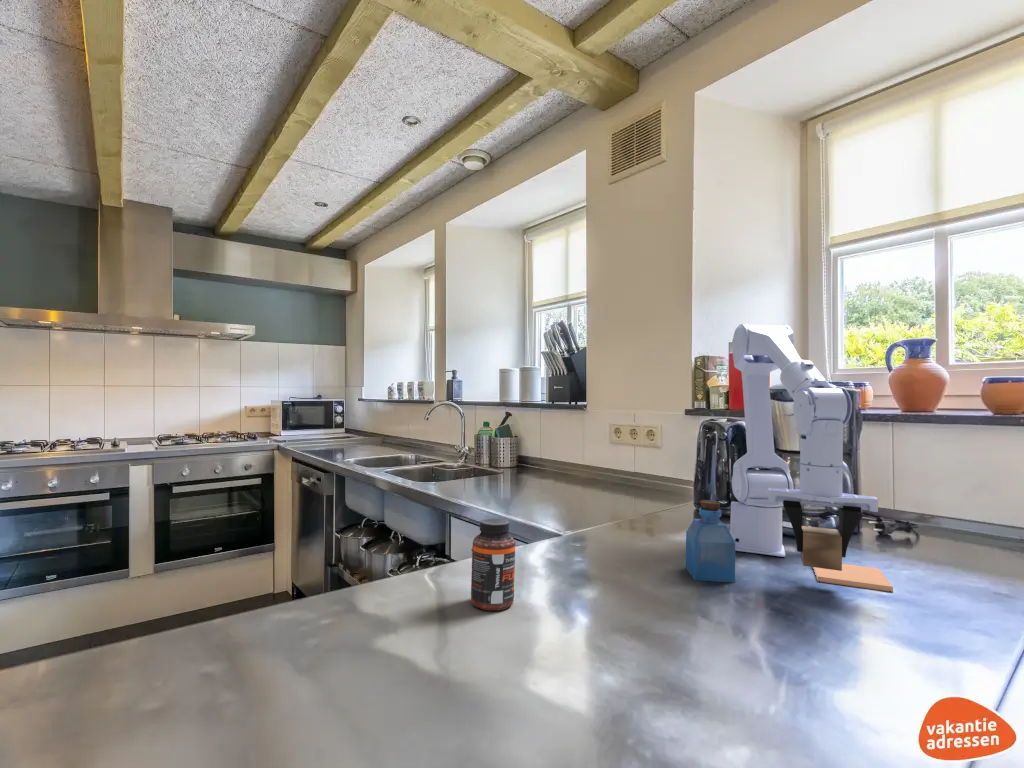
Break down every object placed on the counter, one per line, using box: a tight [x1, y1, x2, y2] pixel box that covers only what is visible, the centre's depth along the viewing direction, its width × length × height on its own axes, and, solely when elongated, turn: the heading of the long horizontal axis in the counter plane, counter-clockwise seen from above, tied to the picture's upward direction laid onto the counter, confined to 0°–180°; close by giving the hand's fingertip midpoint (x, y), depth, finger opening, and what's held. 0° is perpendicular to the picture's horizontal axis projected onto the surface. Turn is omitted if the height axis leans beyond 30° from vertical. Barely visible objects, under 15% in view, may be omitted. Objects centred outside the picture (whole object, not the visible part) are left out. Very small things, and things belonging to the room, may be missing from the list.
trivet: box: [812, 563, 894, 593], centre depth 87 cm, size 10×10×1 cm
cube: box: [800, 525, 843, 571], centre depth 81 cm, size 5×5×5 cm
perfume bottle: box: [685, 499, 736, 583], centre depth 87 cm, size 6×6×12 cm
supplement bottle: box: [470, 517, 516, 612], centre depth 72 cm, size 6×6×11 cm
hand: (820, 552), depth 81 cm, fingers closed on cube, 5 cm apart
